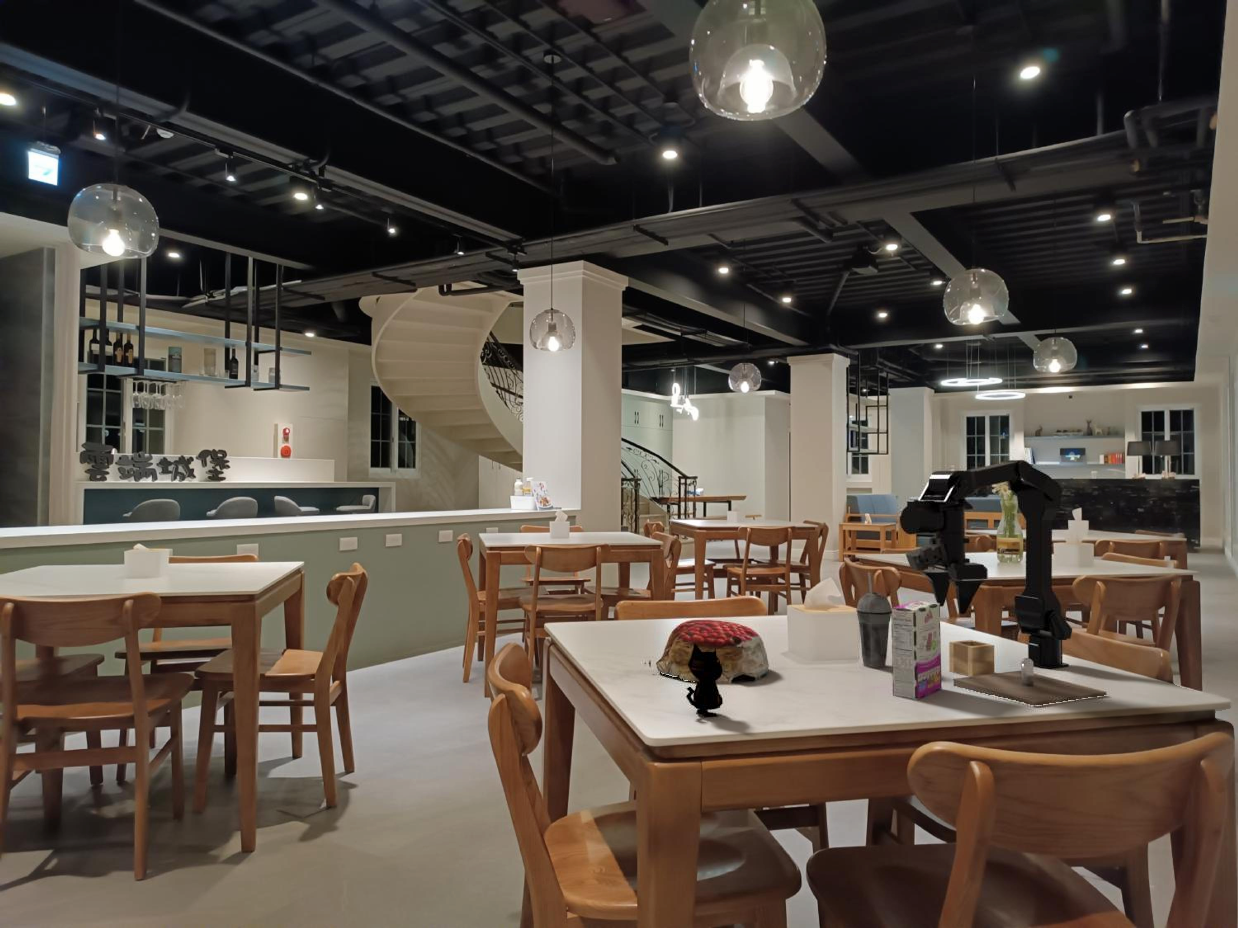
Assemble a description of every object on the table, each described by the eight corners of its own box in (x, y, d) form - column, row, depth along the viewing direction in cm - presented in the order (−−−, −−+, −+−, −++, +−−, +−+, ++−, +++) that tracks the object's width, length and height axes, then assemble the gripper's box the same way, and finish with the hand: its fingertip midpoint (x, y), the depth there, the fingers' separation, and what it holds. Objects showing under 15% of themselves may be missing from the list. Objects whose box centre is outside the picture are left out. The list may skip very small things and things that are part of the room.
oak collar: (971, 668, 171) (971, 639, 171) (994, 674, 165) (994, 645, 165) (949, 671, 168) (949, 641, 168) (972, 677, 163) (972, 647, 163)
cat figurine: (734, 720, 133) (734, 647, 133) (700, 727, 130) (700, 651, 130) (709, 710, 139) (709, 640, 139) (675, 715, 136) (676, 643, 136)
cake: (632, 666, 174) (632, 619, 174) (726, 654, 185) (726, 610, 185) (690, 690, 153) (690, 637, 153) (792, 676, 164) (792, 627, 165)
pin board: (1021, 677, 163) (1021, 645, 163) (1106, 700, 146) (1106, 663, 146) (953, 686, 156) (953, 652, 156) (1034, 711, 139) (1034, 672, 139)
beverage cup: (899, 667, 171) (899, 572, 172) (871, 670, 168) (871, 574, 169) (876, 660, 178) (876, 569, 178) (849, 663, 175) (849, 570, 176)
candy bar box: (916, 685, 157) (916, 600, 157) (942, 690, 153) (941, 602, 153) (890, 696, 148) (889, 606, 149) (917, 701, 145) (916, 609, 145)
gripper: (892, 530, 173) (893, 603, 173) (931, 536, 154) (933, 619, 154) (943, 529, 174) (944, 602, 173) (988, 535, 155) (990, 617, 155)
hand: (951, 609), depth 164 cm, fingers open, 9 cm apart
